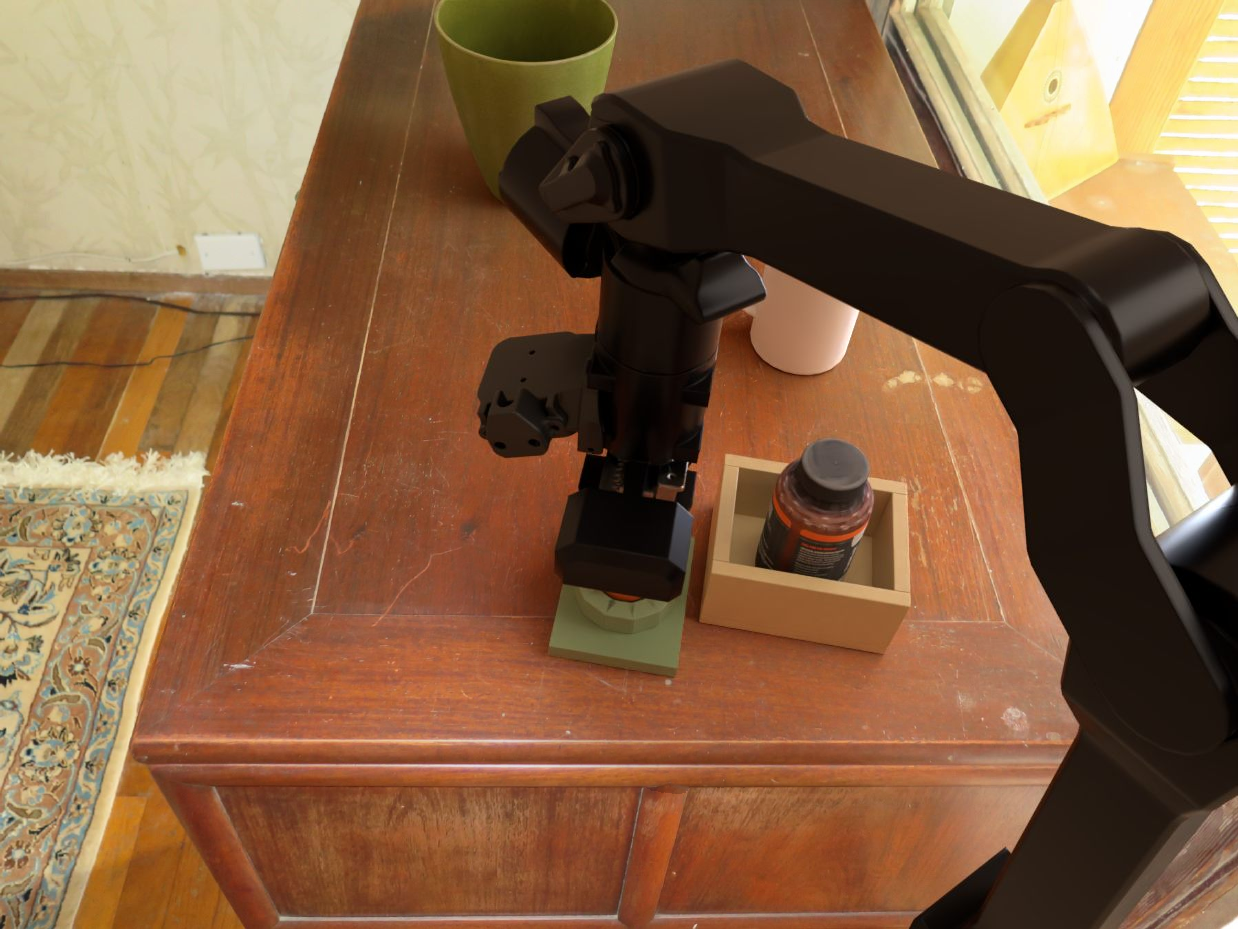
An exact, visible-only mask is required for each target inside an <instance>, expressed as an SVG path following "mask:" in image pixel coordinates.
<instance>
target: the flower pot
mask: <svg viewBox="0 0 1238 929" xmlns="http://www.w3.org/2000/svg"><path fill="white" fill-rule="evenodd" d="M433 12H434V13H433V22H434V27H435V32H436V37H437V41H438V46H439V52H440V55H441V60H442V62H443V63H442V64H443V67H444V68H443V69H444V72H445V75H446V79H447V83H448V88H449V90H450V93H451V97H452V100H453V104H454V107H455V110H456V113H457V116H458V118H459V122H460V124H461V127H462V130H463V132H464V135H465V137H466V141H467V142H468V145H469V147H470V150H471V152H472V155H473V157H474V159H475V162H476V164H477V166H478V168H479V170H480V172H481V175H482V177H483V179H484V181H485V183H486V185H487V187H488V189H489V191H490V193H491V194H492V196H494V197H495V198H496V199H497V200H498V201H501V202H502V203H504V202H503V200H502V198H501V196H500V192H499V187H498V175H499V172H500V171H501V170H502V169H503V165H504V162H505V160H506V158H507V156H508V154H509V152H510V150H511V148H512V147H513V146H514V145H515V143H516V142H517V141H518V139H519V138H520V137H521V136H522V135H523V134H525V133H526V132H527V131H528V130H529V129H530V128H531V127H533V126H534V106H535V105H537V104H540V103H544V102H547V101H551V100H554V99H558V98H561V97H565V96H569V95H571V96H572V97H573V98H574V99H575V100H576V101H577V102H579V103H580V104H581V105H582V106H583V107H584V109H585V110H586V111H587V113H588V114H589V115H590V114H591V110H592V109H591V103H592V100H593V98H594V97H595V96H597V95H599V94H601V93H604V92H605V88H606V85H607V80H608V76H609V71H610V67H611V62H612V58H613V53H614V48H615V42H616V37H617V31H618V28H619V21H618V17H617V15H616V12H615V10H614V9H613V7H612V6H611V4H609V3H608V2H607V1H606V0H439V1H438V4H437V5H436V7H435V9H434V11H433Z"/></svg>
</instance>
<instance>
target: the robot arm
mask: <svg viewBox="0 0 1238 929" xmlns="http://www.w3.org/2000/svg"><path fill="white" fill-rule="evenodd" d="M591 109H592V110H591V114H590V115H589V114H588V113H587V111H586V110H585V109H584V107H583V106H582V105H581V104H580V103H579V102H577V101H576V100H575V99H574V98H573V97H572V96H571V95H569V96H565V97H561V98H558V99H554V100H551V101H547V102H544V103H540V104H537V105H535V106H534V126H533V127H531V128H530V129H529V130H528V131H527V132H526V133H525V134H523V135H522V136H521V137H520V138H519V139H518V141H517V142H516V143H515V145H514V146H513V147H512V148H511V150H510V152H509V154H508V156H507V158H506V160H505V162H504V165H503V169H502V170H501V171H500V172H499V175H498V187H499V192H500V196H501V198H502V200H503V202H502V203H503V204H504V206H505V207H506V208H507V209H508V210H509V211H510V212H511V214H513V216H515V218H516V219H517V220H518V221H519V222H520V223H521V224H522V226H524V228H525V229H526V230H527V231H528V232H529V233H530V234H531V235H532V236H533V238H535V240H536V241H538V243H539V244H540V245H541V246H542V247H543V248H544V249H545V250H546V252H547V253H548V254H549V255H550V256H551V257H552V258H553V259H554V261H555V262H557V264H558V265H559V266H560V267H561V268H562V269H563V270H564V272H565V273H567V274H568V276H569V277H570V278H572V279H589V280H590V279H595V278H600V285H599V286H600V287H599V304H598V315H597V319H596V323H595V328H594V333H575V332H572V331H569V330H568V331H567V330H566V331H564V330H563V331H556V332H555V331H554V332H547V333H546V332H545V333H539V334H530V335H529V334H527V335H519V336H513V337H509V338H506V339H503V340H501V341H499V342H498V343H497V344H496V345H495V346H494V347H493V349H492V350H491V352H490V355H489V357H488V361H487V364H486V366H485V369H484V373H483V375H482V378H481V380H480V383H479V387H478V389H477V392H476V393H477V394H476V395H477V399H478V401H479V402H480V403H479V406H478V409H477V412H476V415H477V416H478V418H479V421H480V424H479V428H478V431H477V433H478V435H479V437H480V438H481V439H483V440H485V441H487V442H488V444H489V446H490V448H491V449H492V451H493V453H494V454H495V455H497V456H499V457H501V458H503V459H513V458H515V459H516V458H529V457H540V456H541V457H542V456H544V455H546V453H547V452H548V451H549V449H550V445H551V442H552V440H553V439H563V438H568V437H572V436H574V435H575V434H576V433H577V442H576V443H577V444H576V451H577V452H579V453H585V456H584V460H583V463H582V469H581V473H580V476H579V480H578V485H577V489H578V491H577V490H576V491H575V492H573V493H571V494H569V495H568V496H567V499H566V504H565V508H564V511H563V514H562V519H561V522H560V523H561V524H560V526H559V532H558V535H557V539H556V544H555V547H554V552H553V554H554V555H553V557H554V558H553V559H554V560H553V573H554V575H555V576H556V578H558V580H559V581H560V583H561V584H562V585H563V584H564V585H570V586H576V587H582V588H587V589H593V590H599V591H605V592H611V593H616V594H622V595H628V596H634V597H640V598H645V599H651V600H657V601H663V602H670V601H672V600H673V599H675V598H677V597H678V596H680V595H681V594H682V589H683V585H684V580H685V575H686V569H687V562H688V555H689V548H690V540H691V537H692V533H693V526H694V519H695V516H694V515H693V514H692V513H691V512H690V511H691V510H692V508H693V504H694V503H693V502H694V497H695V490H696V485H697V484H696V483H697V475H698V471H696V470H690V469H689V468H690V466H691V465H692V464H696V465H697V464H698V461H699V456H700V452H701V448H702V441H703V434H704V430H705V429H704V428H705V422H706V419H705V416H706V411H707V408H709V404H710V398H711V393H712V386H713V380H714V376H715V375H714V374H715V370H716V365H717V358H718V357H717V356H718V351H719V343H720V338H721V332H722V326H723V322H724V318H726V317H727V316H730V315H732V314H735V313H737V312H739V311H743V310H742V309H745V308H747V307H749V306H752V305H754V304H756V305H757V303H759V302H761V301H763V300H765V298H766V296H767V292H766V288H765V286H764V284H763V282H762V277H761V274H760V273H759V272H758V270H757V269H755V268H754V267H753V266H752V265H751V264H750V263H749V262H748V261H747V259H746V257H749V258H752V259H755V260H757V261H759V262H761V263H762V264H766V265H768V266H770V267H772V268H774V269H776V270H778V271H780V272H782V273H784V274H786V275H788V276H790V277H792V278H795V279H797V280H799V281H801V282H803V283H805V284H807V285H809V286H811V287H813V288H815V289H817V290H819V291H821V292H823V293H825V294H827V295H829V296H831V297H833V298H835V299H837V300H839V301H841V302H843V303H845V304H847V305H849V306H851V307H853V308H855V309H857V310H859V312H861V313H863V314H864V315H866V316H869V317H870V318H873V319H875V320H877V321H878V322H881V323H883V324H885V325H887V326H889V327H891V328H893V329H895V330H897V331H899V332H901V333H903V334H905V335H906V336H909V337H911V338H913V339H914V340H917V341H919V342H920V343H923V344H925V345H927V346H928V347H931V348H932V349H934V350H936V351H939V352H941V353H942V354H945V355H947V356H949V357H951V358H953V359H955V360H957V361H959V362H961V363H963V364H965V365H967V366H969V367H970V368H973V369H975V370H977V371H979V372H981V373H983V374H984V375H986V377H987V378H988V380H989V382H990V384H991V386H992V388H993V389H994V392H995V393H996V395H997V397H998V399H999V401H1000V402H1001V404H1002V406H1003V408H1004V410H1005V411H1006V414H1007V415H1008V417H1009V419H1010V421H1011V423H1012V425H1013V427H1014V429H1015V431H1016V434H1017V444H1018V455H1019V467H1020V480H1021V481H1020V482H1021V483H1020V484H1021V493H1022V494H1021V495H1022V510H1023V521H1024V533H1025V544H1026V545H1025V546H1026V553H1027V556H1028V560H1029V563H1030V566H1031V568H1032V570H1033V572H1034V574H1035V575H1036V577H1037V579H1038V581H1039V583H1040V585H1041V587H1042V589H1043V590H1044V593H1045V594H1046V597H1047V598H1048V600H1049V602H1050V604H1051V606H1052V608H1053V610H1054V612H1055V613H1056V615H1057V617H1058V619H1059V621H1060V623H1061V625H1062V626H1063V629H1064V630H1065V633H1066V634H1067V636H1068V642H1067V645H1066V652H1065V657H1064V661H1063V666H1062V671H1061V675H1060V681H1059V683H1060V691H1061V695H1062V697H1063V699H1064V701H1065V703H1066V704H1067V706H1068V709H1069V710H1070V711H1071V713H1072V715H1073V718H1075V720H1076V722H1077V724H1078V729H1077V733H1076V734H1075V737H1074V739H1073V741H1072V742H1071V744H1070V746H1069V748H1068V750H1067V752H1066V753H1065V755H1064V757H1063V759H1062V760H1061V762H1060V764H1059V765H1058V768H1057V769H1056V771H1055V773H1054V775H1053V777H1052V779H1051V781H1050V782H1049V784H1048V786H1047V788H1046V790H1045V792H1044V793H1043V795H1042V797H1041V798H1040V801H1039V802H1038V804H1037V806H1036V808H1035V809H1034V811H1033V813H1032V815H1031V817H1030V818H1029V820H1028V822H1027V823H1026V825H1025V828H1024V829H1023V831H1022V833H1021V834H1020V836H1019V838H1018V839H1017V840H1018V841H1017V842H1016V844H1015V845H1014V848H1013V849H1012V850H1011V851H1010V850H1009V849H1008V848H1007V846H1004V847H1003V848H1001V850H999V851H998V852H997V853H995V854H994V855H993V856H991V858H989V859H987V861H985V862H984V863H983V864H982V865H980V866H979V867H978V868H977V869H975V870H974V871H973V872H971V873H970V874H969V875H967V876H966V877H965V878H964V879H962V880H961V881H960V882H959V883H957V884H956V885H954V886H953V887H952V888H951V889H949V891H947V892H946V893H944V895H942V896H941V897H940V898H938V899H937V900H936V901H935V902H933V903H932V904H931V905H930V906H928V907H927V908H925V909H924V910H923V911H922V912H921V913H919V914H918V915H917V916H915V917H914V919H912V922H911V924H910V925H909V927H908V929H1120V927H1121V926H1122V924H1123V923H1125V921H1126V920H1127V918H1128V917H1129V915H1130V914H1131V913H1132V912H1133V911H1134V909H1135V908H1136V907H1137V905H1138V904H1140V902H1141V900H1142V899H1143V898H1145V896H1146V895H1147V893H1148V892H1149V891H1150V890H1151V889H1152V888H1153V886H1154V884H1155V883H1156V882H1157V881H1158V880H1159V879H1160V877H1162V875H1163V873H1164V872H1165V871H1166V870H1167V869H1168V867H1169V866H1170V865H1171V864H1172V863H1173V861H1174V860H1175V858H1176V857H1177V856H1178V855H1179V853H1180V852H1181V851H1182V850H1183V849H1184V847H1185V846H1186V845H1187V844H1188V842H1189V841H1190V840H1191V838H1193V837H1194V835H1195V834H1196V832H1198V830H1199V829H1200V827H1201V826H1203V824H1204V823H1205V821H1206V820H1207V819H1208V817H1209V816H1210V815H1211V814H1212V813H1213V812H1214V811H1216V810H1218V809H1219V808H1221V807H1222V806H1224V805H1225V804H1227V803H1228V802H1230V801H1231V800H1233V799H1235V798H1236V797H1238V315H1237V313H1236V310H1235V309H1234V307H1233V305H1232V304H1231V302H1230V301H1229V298H1228V296H1227V295H1226V292H1225V291H1224V290H1223V288H1222V286H1221V284H1220V282H1219V281H1218V279H1217V277H1216V275H1215V274H1214V272H1213V270H1212V269H1211V266H1210V265H1209V264H1208V262H1207V261H1206V259H1204V258H1203V256H1202V255H1201V253H1200V252H1198V250H1197V249H1196V248H1195V247H1194V245H1193V244H1192V243H1191V242H1188V241H1186V240H1185V239H1183V238H1181V237H1179V236H1178V235H1175V234H1174V233H1172V232H1170V231H1168V230H1159V229H1151V228H1145V227H1139V226H1133V227H1132V226H1127V227H1126V226H1125V227H1124V226H1117V225H1116V226H1115V225H1110V224H1106V223H1103V222H1100V221H1098V220H1094V219H1091V218H1088V217H1086V216H1083V215H1080V214H1076V213H1073V212H1070V211H1067V210H1065V209H1061V208H1058V207H1055V206H1052V205H1049V204H1046V203H1044V202H1040V201H1037V200H1033V199H1031V198H1027V197H1025V196H1022V195H1019V194H1016V193H1013V192H1010V191H1007V190H1003V189H1002V188H998V187H995V186H992V185H988V184H985V183H982V182H980V181H977V180H974V179H971V178H967V177H964V176H961V175H960V174H959V175H958V174H956V173H952V172H950V171H946V170H944V169H942V168H941V169H940V168H938V167H934V166H932V165H928V164H925V163H922V162H920V161H916V160H913V159H910V158H907V157H905V156H902V155H899V154H895V153H893V152H890V151H887V150H884V149H880V148H877V147H874V146H871V145H868V144H865V143H862V142H859V141H857V140H853V139H851V138H847V137H844V136H841V135H838V134H835V133H832V132H830V131H828V130H826V129H825V128H823V127H821V126H819V125H818V124H816V123H815V122H813V121H811V120H810V117H809V115H808V113H807V110H806V108H805V106H804V104H803V101H802V98H801V96H800V95H799V94H798V93H797V91H795V90H794V89H793V88H792V87H790V86H788V85H787V84H785V83H783V82H782V81H780V80H778V79H776V78H775V77H773V76H771V75H769V74H768V73H766V72H764V71H762V70H761V69H759V68H757V67H755V66H753V65H752V64H750V63H749V62H746V61H744V60H742V59H740V58H735V57H734V58H732V57H731V58H728V57H727V58H726V57H725V58H724V57H723V58H720V59H716V60H714V61H709V62H706V63H703V64H698V65H695V66H692V67H689V68H688V67H687V68H684V69H681V70H678V71H675V72H671V73H668V74H664V75H661V76H657V77H653V78H651V79H646V80H643V81H640V82H636V83H631V84H629V85H626V86H625V85H624V86H623V87H619V88H615V89H612V90H609V91H604V92H603V93H601V94H599V95H597V96H595V97H594V98H593V100H592V103H591ZM1136 391H1138V392H1139V393H1140V394H1141V395H1143V396H1144V397H1145V398H1146V399H1147V400H1149V401H1150V402H1151V403H1153V404H1154V405H1155V406H1156V407H1158V408H1159V409H1160V410H1161V411H1163V412H1164V413H1165V414H1166V415H1167V416H1169V417H1170V418H1171V419H1172V420H1174V421H1175V422H1176V423H1178V424H1179V425H1180V426H1182V427H1183V428H1184V429H1185V430H1186V431H1187V432H1188V433H1190V434H1191V435H1193V436H1194V437H1195V438H1196V439H1197V440H1199V441H1200V442H1201V443H1203V444H1204V445H1205V446H1206V447H1207V448H1209V450H1210V451H1211V452H1212V455H1213V457H1214V458H1215V460H1216V462H1217V463H1218V466H1219V467H1220V469H1221V471H1222V473H1223V475H1224V477H1225V478H1226V480H1227V482H1228V483H1229V485H1230V487H1228V488H1227V489H1225V490H1224V491H1222V492H1221V493H1219V494H1218V495H1216V496H1215V497H1213V498H1211V499H1210V500H1209V501H1207V502H1206V503H1204V504H1203V505H1201V506H1199V507H1198V508H1197V509H1195V510H1193V511H1192V512H1191V513H1189V514H1188V515H1186V516H1185V517H1183V518H1182V519H1180V520H1179V521H1177V522H1176V523H1174V524H1173V525H1171V526H1170V527H1168V528H1167V529H1165V530H1164V531H1162V532H1160V533H1159V534H1158V535H1156V536H1155V534H1154V532H1153V528H1152V521H1151V510H1150V501H1149V494H1148V491H1149V490H1148V484H1147V483H1148V482H1147V475H1146V465H1145V457H1144V456H1145V454H1144V447H1143V439H1142V437H1143V436H1142V429H1141V420H1140V411H1139V410H1140V409H1139V403H1138V402H1139V401H1138V397H1137V393H1136ZM604 450H606V454H605V455H602V454H604Z"/></svg>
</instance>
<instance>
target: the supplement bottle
mask: <svg viewBox="0 0 1238 929" xmlns="http://www.w3.org/2000/svg"><path fill="white" fill-rule="evenodd" d="M787 464H788V465H787V466H786V467H785V468H784V469H783V471H782V472H781V474H780V476H779V478H778V480H777V483H776V486H775V489H774V493H773V495H772V499H771V503H770V506H769V509H768V513H767V517H766V520H765V523H764V527H763V530H762V534H761V537H760V541H759V544H758V548H757V552H756V558H755V567H757V568H763V569H769V570H775V571H781V572H787V573H792V574H798V575H804V576H810V577H816V578H822V579H828V580H834V581H839V582H843V581H844V578H845V576H846V574H847V571H848V569H849V567H850V564H851V561H852V559H853V557H854V554H855V552H856V550H857V547H858V545H859V542H860V541H861V538H862V535H863V533H864V531H865V528H866V526H867V524H868V521H869V519H870V516H871V513H872V510H873V504H874V494H873V490H872V487H871V485H870V483H869V481H868V477H870V476H869V475H870V470H871V469H870V462H869V460H868V458H867V457H866V454H864V452H863V451H862V450H861V449H860V448H859V447H857V446H856V445H854V444H853V443H851V442H849V441H847V440H845V439H839V438H835V437H828V438H826V437H825V438H821V439H820V438H818V439H817V440H815V441H812V442H810V443H809V444H808V445H807V446H806V447H805V448H804V450H803V452H802V454H801V456H800V457H798V458H796V459H794V460H793V461H791V462H790V463H787Z"/></svg>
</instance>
